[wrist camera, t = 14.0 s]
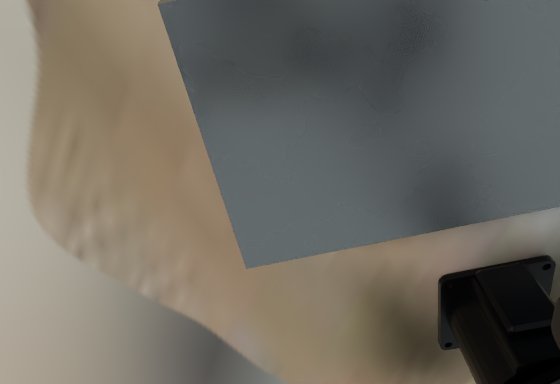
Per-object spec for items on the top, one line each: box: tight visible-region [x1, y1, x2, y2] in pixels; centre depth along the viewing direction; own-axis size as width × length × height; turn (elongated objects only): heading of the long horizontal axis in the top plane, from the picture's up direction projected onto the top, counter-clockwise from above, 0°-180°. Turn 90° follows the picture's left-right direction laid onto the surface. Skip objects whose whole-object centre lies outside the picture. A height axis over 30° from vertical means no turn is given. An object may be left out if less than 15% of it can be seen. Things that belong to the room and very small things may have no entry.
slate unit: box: [158, 0, 560, 269], centre depth 15 cm, size 9×20×8 cm, turn 101°
